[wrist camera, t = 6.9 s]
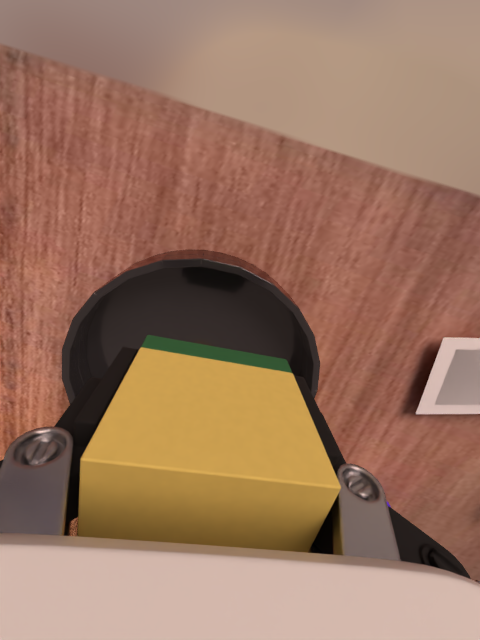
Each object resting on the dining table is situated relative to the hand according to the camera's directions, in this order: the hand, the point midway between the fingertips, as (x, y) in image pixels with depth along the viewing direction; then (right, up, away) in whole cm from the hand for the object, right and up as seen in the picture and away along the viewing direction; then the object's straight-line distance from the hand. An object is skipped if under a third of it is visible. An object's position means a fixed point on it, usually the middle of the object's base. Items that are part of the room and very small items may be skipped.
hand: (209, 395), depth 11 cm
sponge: (0, 0, 0) cm, 0 cm away
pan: (-2, 0, +12) cm, 13 cm away
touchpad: (+25, -2, +15) cm, 29 cm away
